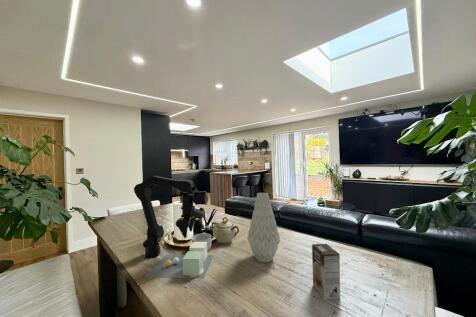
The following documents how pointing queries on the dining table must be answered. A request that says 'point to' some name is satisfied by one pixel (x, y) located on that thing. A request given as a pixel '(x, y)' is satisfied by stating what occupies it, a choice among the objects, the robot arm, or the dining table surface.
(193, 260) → the frosted jade cube
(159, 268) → the slate board
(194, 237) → the teacup
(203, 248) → the ivory cube
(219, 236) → the sugar bowl
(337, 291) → the coffee box
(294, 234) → the dining table surface
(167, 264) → the amber marble
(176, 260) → the pale blue marble
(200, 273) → the tan flat disc
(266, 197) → the vase
